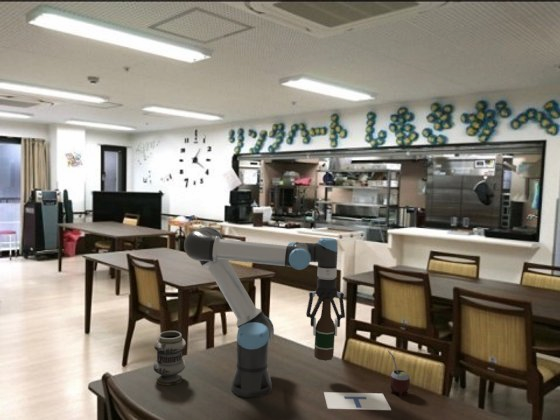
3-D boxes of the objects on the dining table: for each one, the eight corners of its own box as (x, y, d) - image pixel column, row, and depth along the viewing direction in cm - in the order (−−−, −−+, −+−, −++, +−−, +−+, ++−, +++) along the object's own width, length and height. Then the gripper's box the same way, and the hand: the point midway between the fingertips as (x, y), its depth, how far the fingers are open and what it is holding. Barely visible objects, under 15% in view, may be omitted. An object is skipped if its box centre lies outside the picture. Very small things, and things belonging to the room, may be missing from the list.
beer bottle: (321, 351, 185) (324, 293, 184) (337, 357, 180) (340, 297, 179) (310, 357, 179) (313, 297, 178) (326, 362, 174) (329, 301, 173)
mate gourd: (411, 398, 167) (413, 358, 166) (389, 397, 167) (391, 357, 166) (405, 388, 174) (407, 350, 173) (385, 388, 174) (387, 349, 173)
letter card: (327, 409, 157) (327, 408, 157) (323, 392, 169) (323, 392, 169) (391, 410, 157) (391, 409, 157) (382, 394, 169) (382, 393, 169)
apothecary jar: (161, 389, 167) (162, 341, 166) (148, 378, 176) (148, 332, 175) (190, 381, 175) (191, 335, 174) (176, 370, 184) (177, 327, 183)
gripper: (301, 279, 174) (299, 337, 176) (354, 280, 175) (352, 338, 176) (300, 275, 182) (298, 330, 183) (351, 276, 182) (349, 332, 184)
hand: (324, 334), depth 180 cm, fingers closed on beer bottle, 8 cm apart
